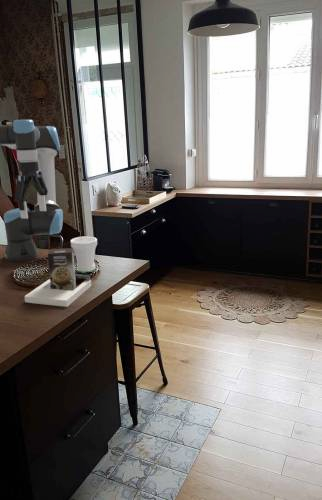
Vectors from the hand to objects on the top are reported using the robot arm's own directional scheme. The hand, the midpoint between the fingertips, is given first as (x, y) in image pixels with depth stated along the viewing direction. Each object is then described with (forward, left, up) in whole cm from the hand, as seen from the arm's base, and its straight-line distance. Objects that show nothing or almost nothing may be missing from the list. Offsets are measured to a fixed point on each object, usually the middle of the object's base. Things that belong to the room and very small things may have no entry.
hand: (34, 214), depth 172 cm
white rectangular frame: (+15, +17, -27) cm, 35 cm away
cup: (-10, +16, -27) cm, 33 cm away
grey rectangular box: (+12, +17, -27) cm, 34 cm away
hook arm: (+6, +17, -27) cm, 32 cm away
